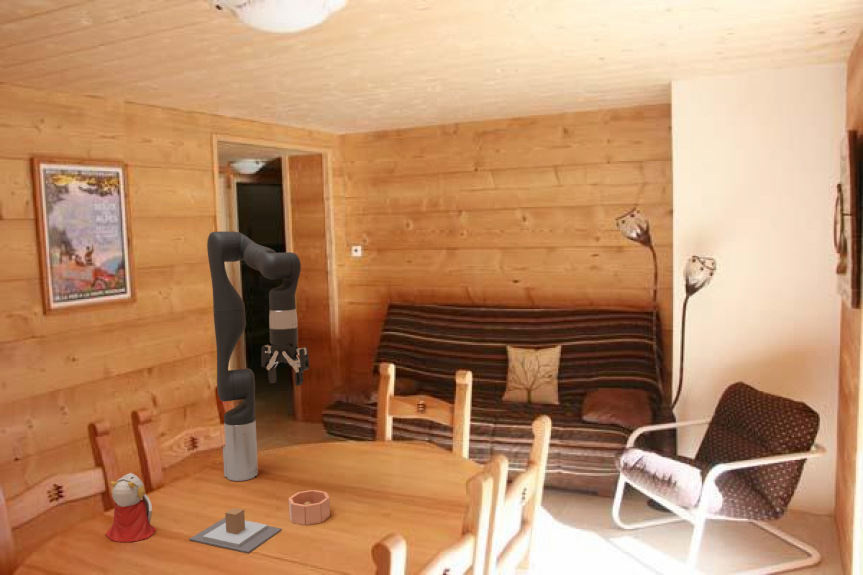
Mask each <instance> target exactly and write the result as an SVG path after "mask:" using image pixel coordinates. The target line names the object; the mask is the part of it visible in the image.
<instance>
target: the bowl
mask: <svg viewBox="0 0 863 575" xmlns="http://www.w3.org/2000/svg"><path fill="white" fill-rule="evenodd" d="M330 503H331V502H330V496H329V494H328V493H327V492H326V491H322V490H315V489H310V490H304V491H298V492H296V493H294V494H292V495H291V496H290V497H288V512H289V517H288V518H290V521H291V523H292V524H297V525H302V526H309V525H315V524H320V523H322V522H324V521H325V520H327V519H328V518H329V517H330V516H331V506H330Z"/></svg>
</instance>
